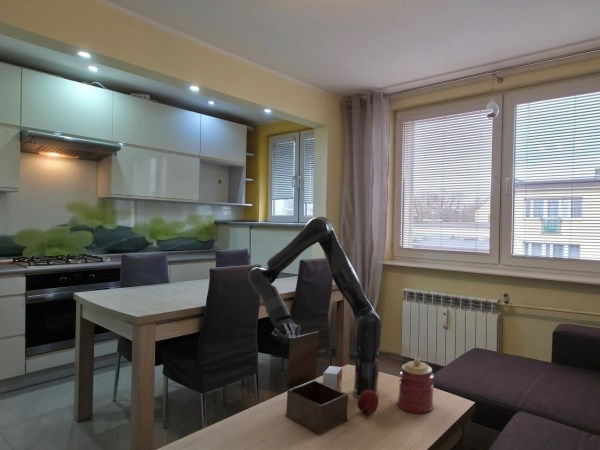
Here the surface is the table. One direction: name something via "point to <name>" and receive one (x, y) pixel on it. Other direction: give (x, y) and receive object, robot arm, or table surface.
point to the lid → (302, 359)
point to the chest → (317, 406)
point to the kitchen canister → (416, 387)
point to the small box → (333, 377)
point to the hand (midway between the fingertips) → (296, 350)
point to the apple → (368, 401)
